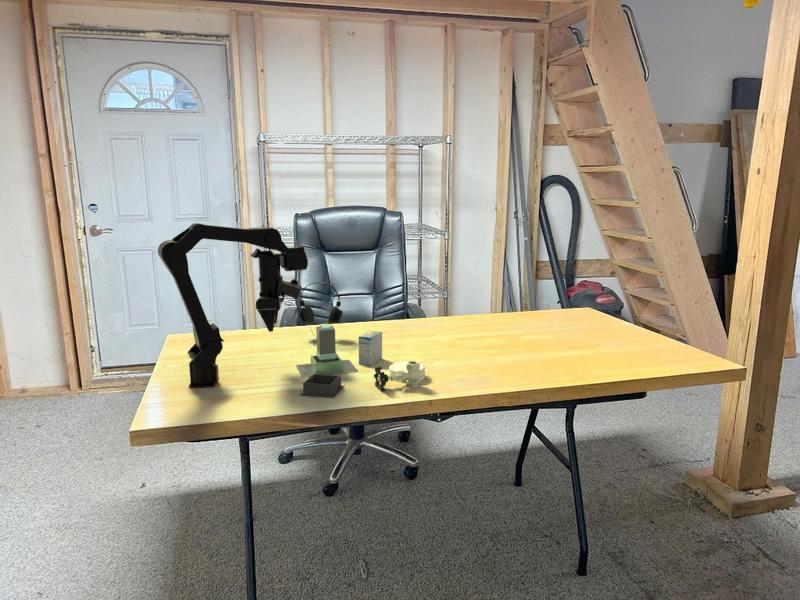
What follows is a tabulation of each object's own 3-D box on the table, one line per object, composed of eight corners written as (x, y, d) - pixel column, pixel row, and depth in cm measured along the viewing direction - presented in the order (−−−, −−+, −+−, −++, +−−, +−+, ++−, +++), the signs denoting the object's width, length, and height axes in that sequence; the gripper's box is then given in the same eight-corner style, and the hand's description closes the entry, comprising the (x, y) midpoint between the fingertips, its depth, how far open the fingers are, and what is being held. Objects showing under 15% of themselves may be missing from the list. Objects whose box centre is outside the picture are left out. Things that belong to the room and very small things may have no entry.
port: (302, 380, 155) (301, 367, 154) (295, 367, 166) (295, 355, 165) (358, 373, 160) (358, 361, 159) (348, 361, 171) (348, 350, 170)
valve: (415, 381, 154) (373, 387, 149) (415, 358, 152) (373, 363, 148) (425, 389, 148) (382, 395, 143) (425, 365, 146) (382, 370, 142)
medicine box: (369, 357, 175) (369, 330, 174) (382, 358, 174) (382, 331, 172) (358, 364, 168) (357, 336, 167) (372, 366, 167) (371, 337, 165)
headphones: (293, 343, 190) (290, 285, 186) (303, 335, 201) (301, 280, 197) (336, 345, 188) (334, 286, 184) (344, 336, 199) (343, 281, 195)
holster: (299, 397, 142) (299, 384, 141) (312, 385, 150) (312, 372, 150) (333, 400, 140) (333, 386, 139) (344, 387, 148) (344, 374, 148)
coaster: (432, 378, 156) (432, 366, 156) (406, 387, 150) (406, 374, 149) (407, 370, 164) (407, 358, 163) (381, 378, 157) (381, 366, 156)
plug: (320, 371, 160) (318, 328, 157) (316, 366, 164) (315, 324, 162) (336, 369, 161) (335, 326, 159) (333, 365, 166) (332, 323, 163)
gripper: (297, 277, 148) (299, 334, 151) (301, 267, 166) (303, 319, 169) (254, 278, 147) (257, 336, 150) (262, 268, 165) (265, 320, 168)
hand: (272, 327), depth 159 cm, fingers open, 9 cm apart
